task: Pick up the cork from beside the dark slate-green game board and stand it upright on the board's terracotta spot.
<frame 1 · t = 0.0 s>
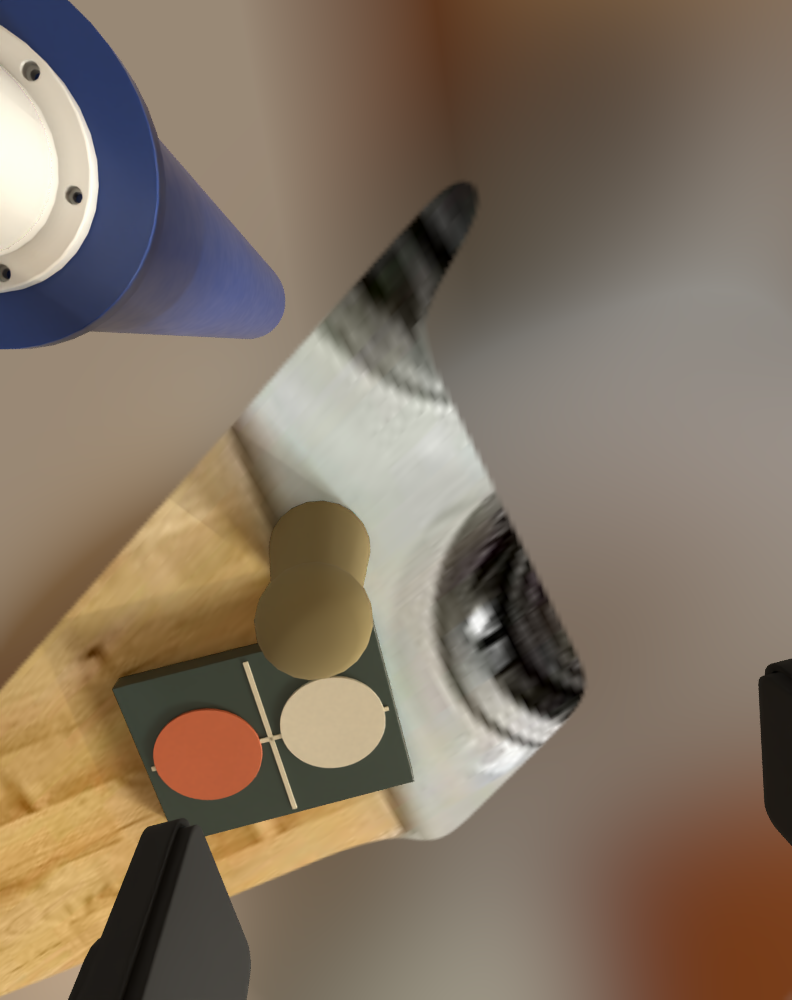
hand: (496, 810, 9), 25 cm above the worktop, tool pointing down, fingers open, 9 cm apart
board: (273, 725, 37), on the worktop
cork: (320, 548, 35), on the worktop
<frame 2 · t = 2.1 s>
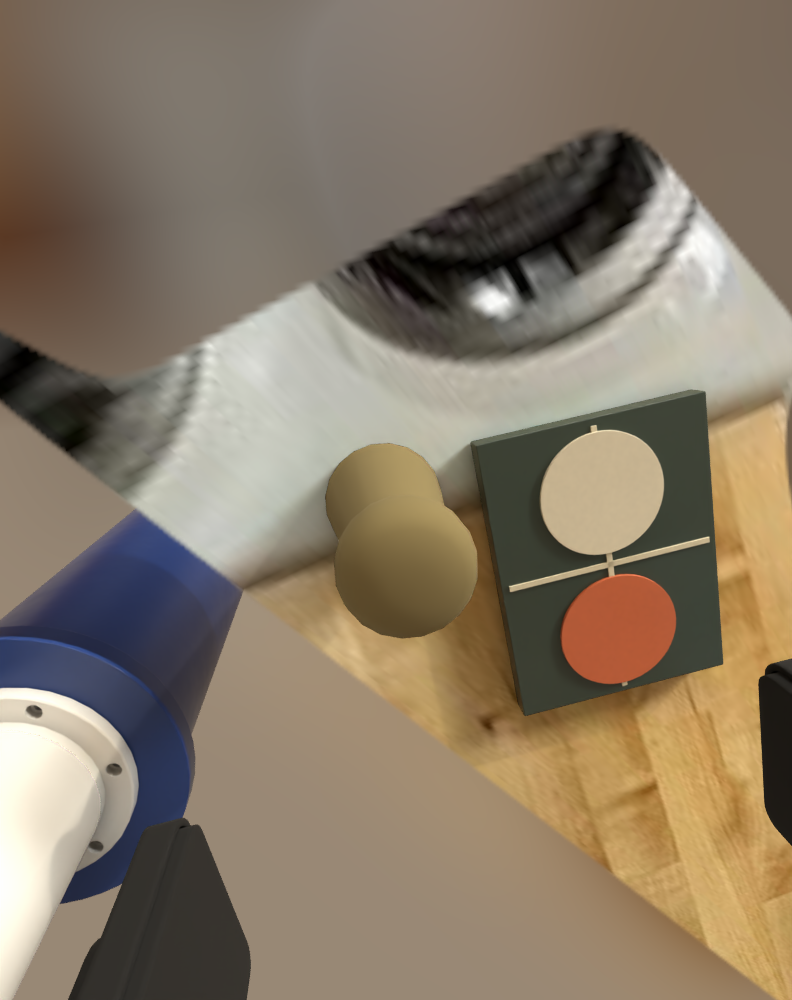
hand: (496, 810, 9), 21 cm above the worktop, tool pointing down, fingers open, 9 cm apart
board: (599, 556, 32), on the worktop
cork: (383, 500, 30), on the worktop
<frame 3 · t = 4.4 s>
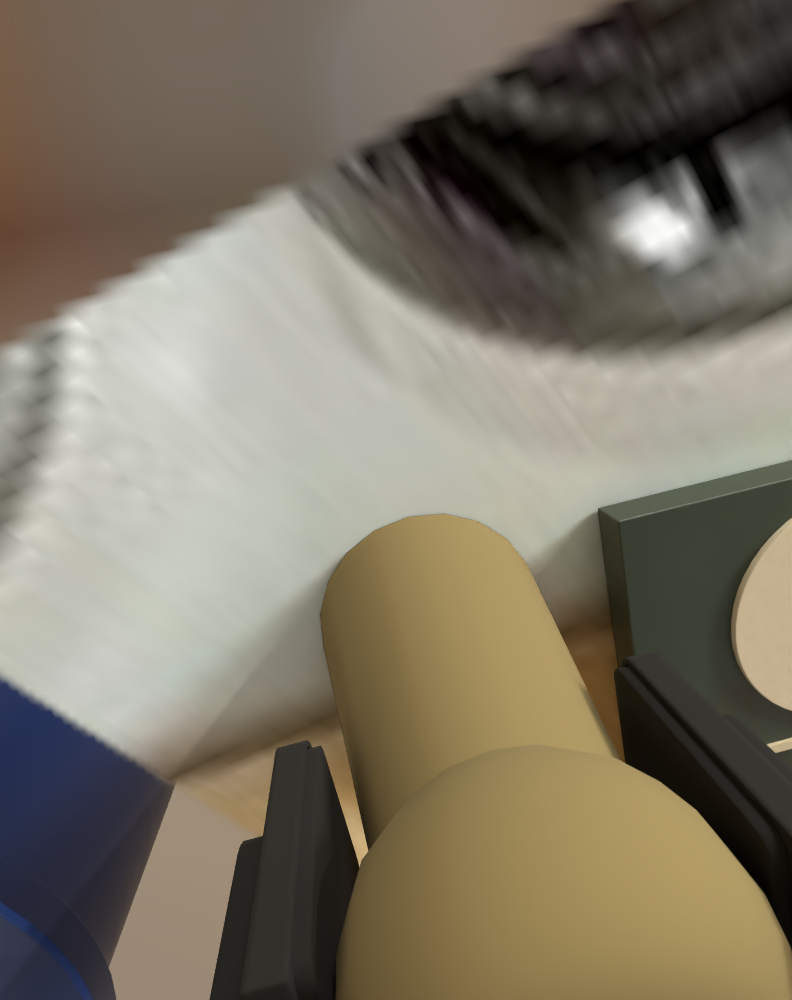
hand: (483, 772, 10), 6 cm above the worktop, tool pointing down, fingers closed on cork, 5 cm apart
cork: (429, 616, 16), on the worktop, touching gripper
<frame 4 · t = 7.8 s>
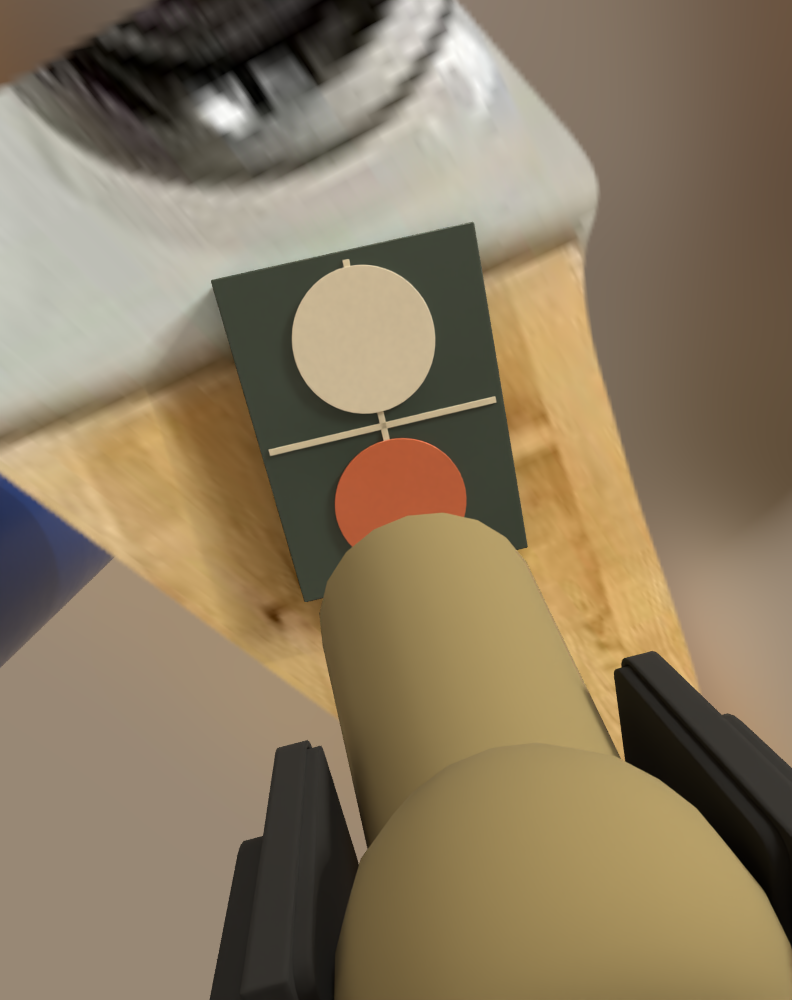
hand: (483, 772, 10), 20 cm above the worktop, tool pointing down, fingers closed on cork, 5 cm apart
board: (381, 422, 29), on the worktop
cork: (429, 615, 16), point 14 cm above the worktop, touching gripper
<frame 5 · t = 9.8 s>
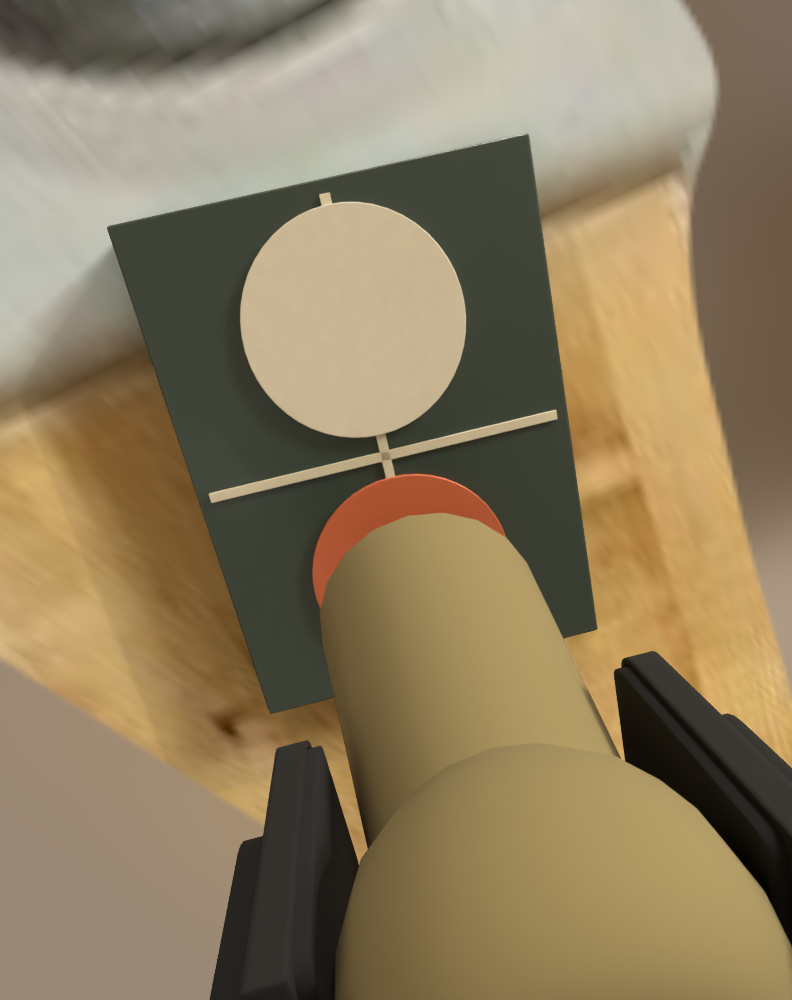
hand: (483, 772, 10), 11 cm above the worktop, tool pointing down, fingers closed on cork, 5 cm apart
board: (382, 448, 19), on the worktop
cork: (429, 615, 16), point 5 cm above the worktop, touching gripper
when the fingers open (7 cm above the worktop, at t = 11.2 s): cork stays where it is, resting on board.
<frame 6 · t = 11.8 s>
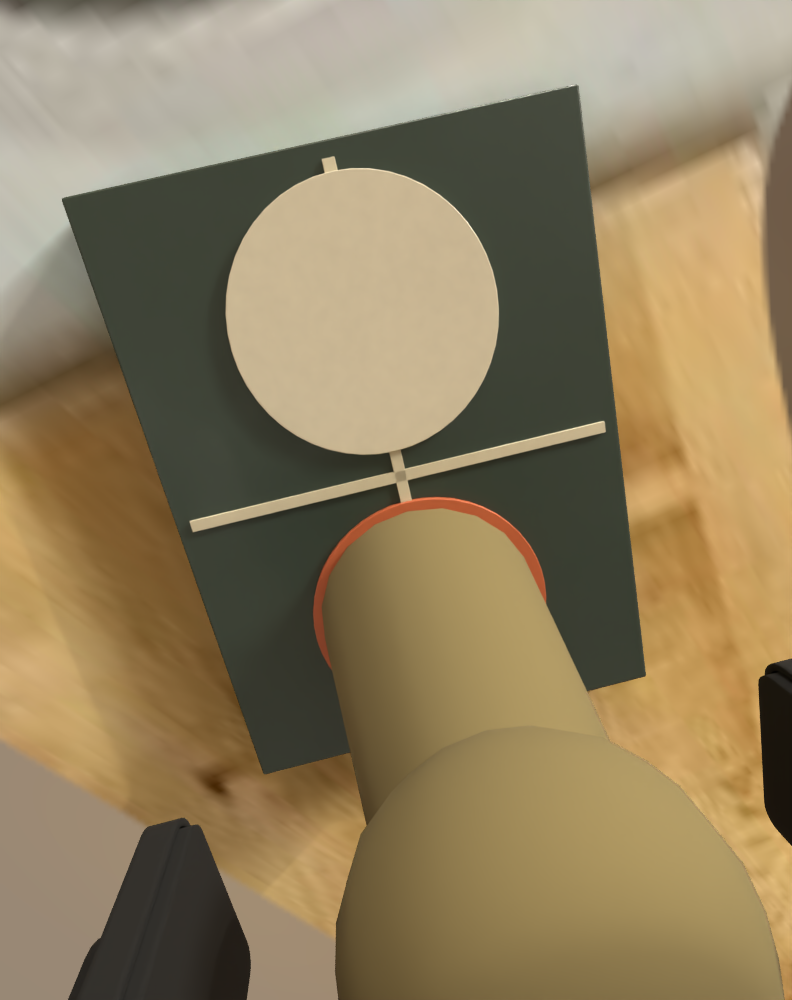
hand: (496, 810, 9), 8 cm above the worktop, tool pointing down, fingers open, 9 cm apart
board: (395, 466, 16), on the worktop
cork: (429, 608, 16), point 1 cm above the worktop, touching board
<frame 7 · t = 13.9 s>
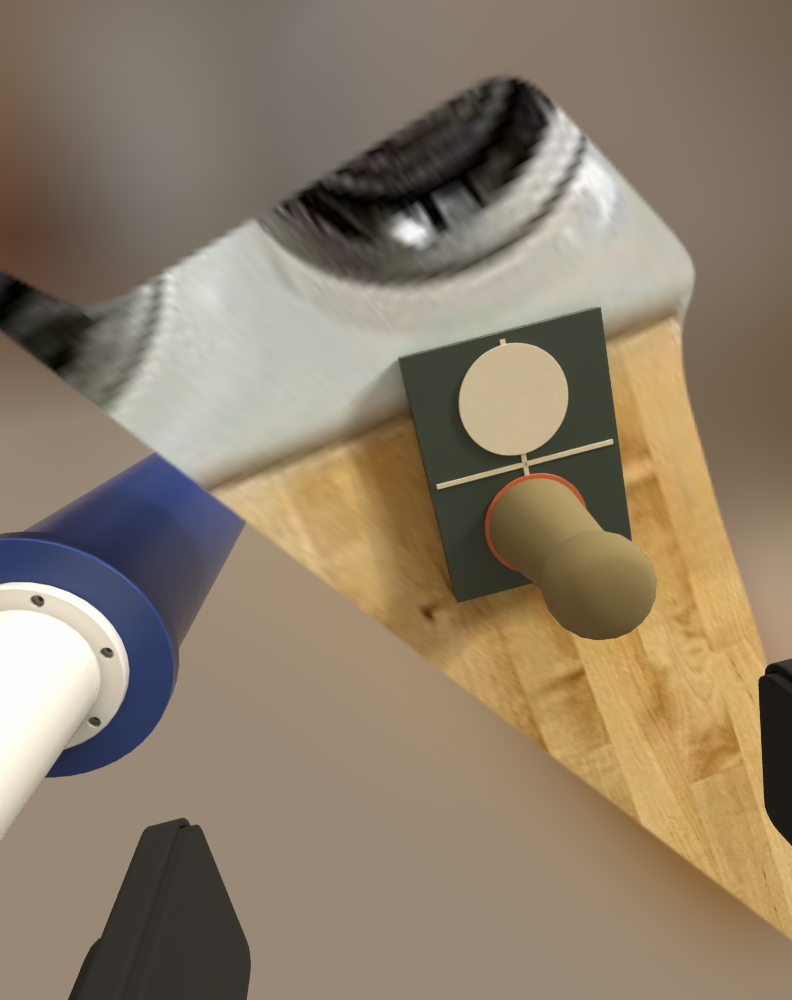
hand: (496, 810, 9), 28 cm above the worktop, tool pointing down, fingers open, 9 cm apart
board: (519, 460, 36), on the worktop
cork: (535, 523, 36), point 1 cm above the worktop, touching board
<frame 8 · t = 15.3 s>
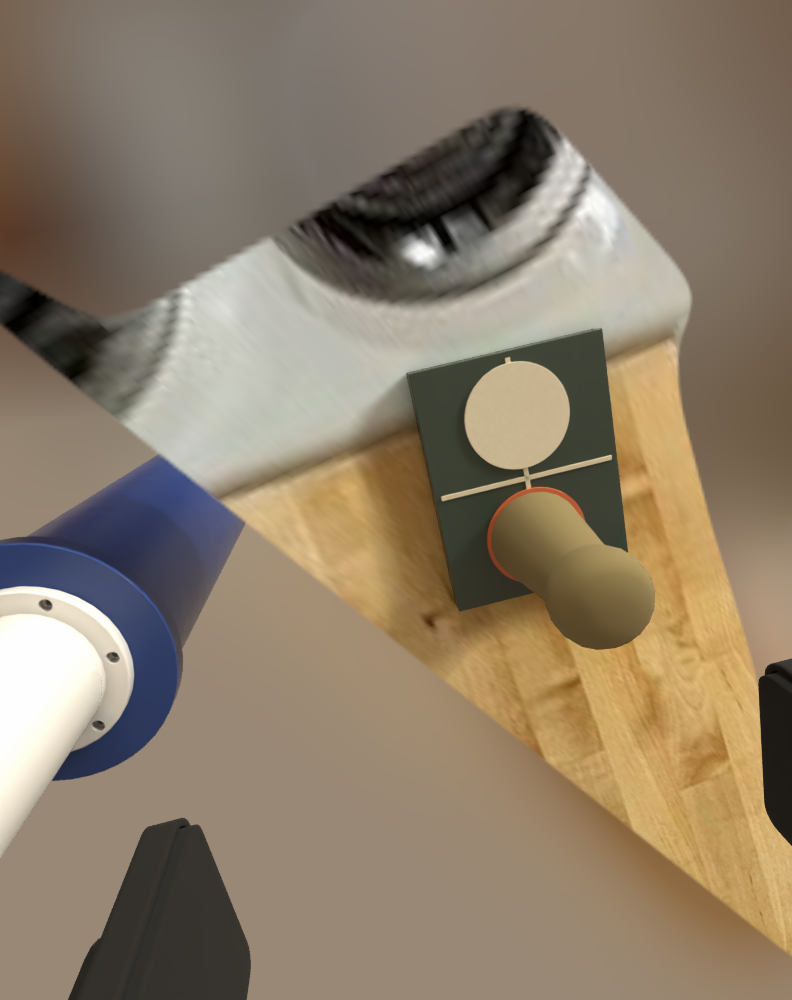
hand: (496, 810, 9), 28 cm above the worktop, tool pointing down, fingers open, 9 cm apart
board: (520, 473, 38), on the worktop
cork: (535, 535, 38), point 1 cm above the worktop, touching board
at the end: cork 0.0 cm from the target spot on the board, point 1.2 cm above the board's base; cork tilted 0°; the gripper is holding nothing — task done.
